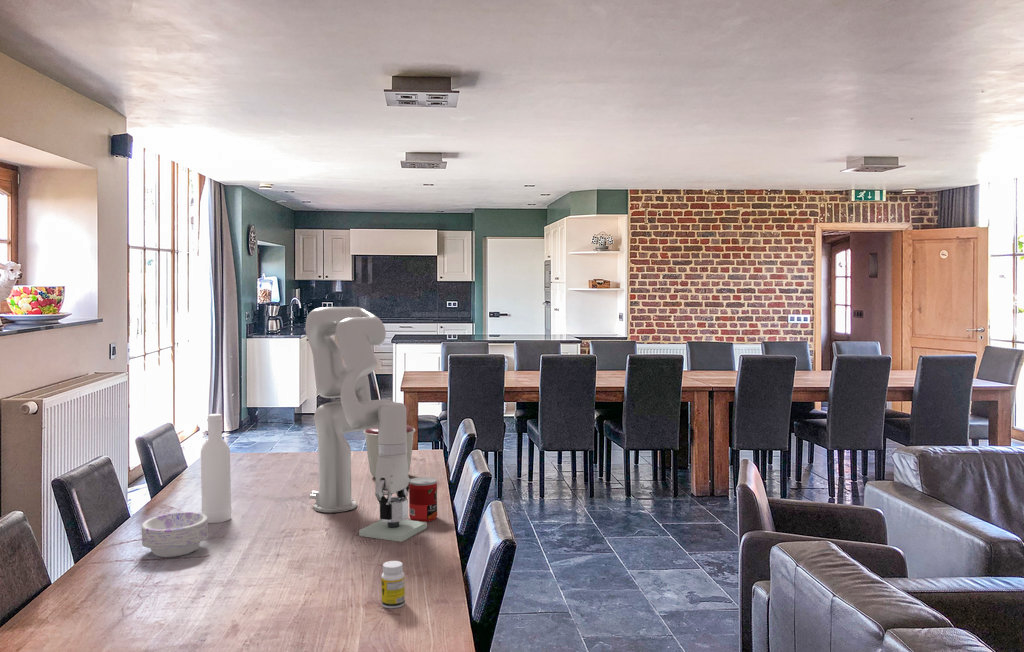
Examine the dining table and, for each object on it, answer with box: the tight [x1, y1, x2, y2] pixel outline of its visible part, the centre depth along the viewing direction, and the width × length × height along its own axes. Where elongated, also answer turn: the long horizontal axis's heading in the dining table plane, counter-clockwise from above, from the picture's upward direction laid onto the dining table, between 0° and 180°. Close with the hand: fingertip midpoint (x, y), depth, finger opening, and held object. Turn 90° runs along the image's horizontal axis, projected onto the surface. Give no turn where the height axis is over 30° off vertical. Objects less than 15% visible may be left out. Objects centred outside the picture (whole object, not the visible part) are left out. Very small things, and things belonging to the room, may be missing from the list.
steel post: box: [387, 499, 400, 528], centre depth 206 cm, size 3×3×7 cm
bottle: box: [200, 413, 233, 524], centre depth 218 cm, size 8×8×30 cm
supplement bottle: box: [380, 560, 406, 609], centre depth 157 cm, size 5×5×8 cm
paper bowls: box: [141, 511, 209, 558], centre depth 191 cm, size 15×15×8 cm
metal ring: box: [379, 495, 409, 522], centre depth 206 cm, size 7×7×5 cm
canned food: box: [408, 476, 438, 523], centre depth 219 cm, size 8×8×11 cm
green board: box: [358, 519, 428, 543], centre depth 206 cm, size 13×13×2 cm
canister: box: [362, 424, 416, 479], centre depth 269 cm, size 18×18×21 cm
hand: (393, 514), depth 206 cm, fingers closed on metal ring, 7 cm apart
